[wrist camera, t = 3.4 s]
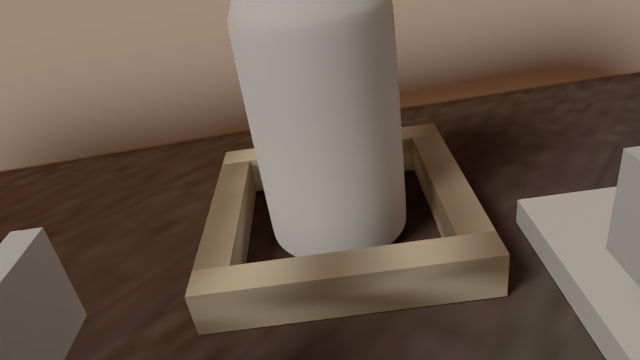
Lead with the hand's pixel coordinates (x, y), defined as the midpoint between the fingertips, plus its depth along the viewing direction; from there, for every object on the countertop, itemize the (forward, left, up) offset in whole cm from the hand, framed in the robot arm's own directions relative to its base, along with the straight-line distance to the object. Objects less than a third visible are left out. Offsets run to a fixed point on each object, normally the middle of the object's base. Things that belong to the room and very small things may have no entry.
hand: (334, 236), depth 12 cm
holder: (0, -11, -7) cm, 13 cm away
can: (0, -11, -7) cm, 13 cm away
